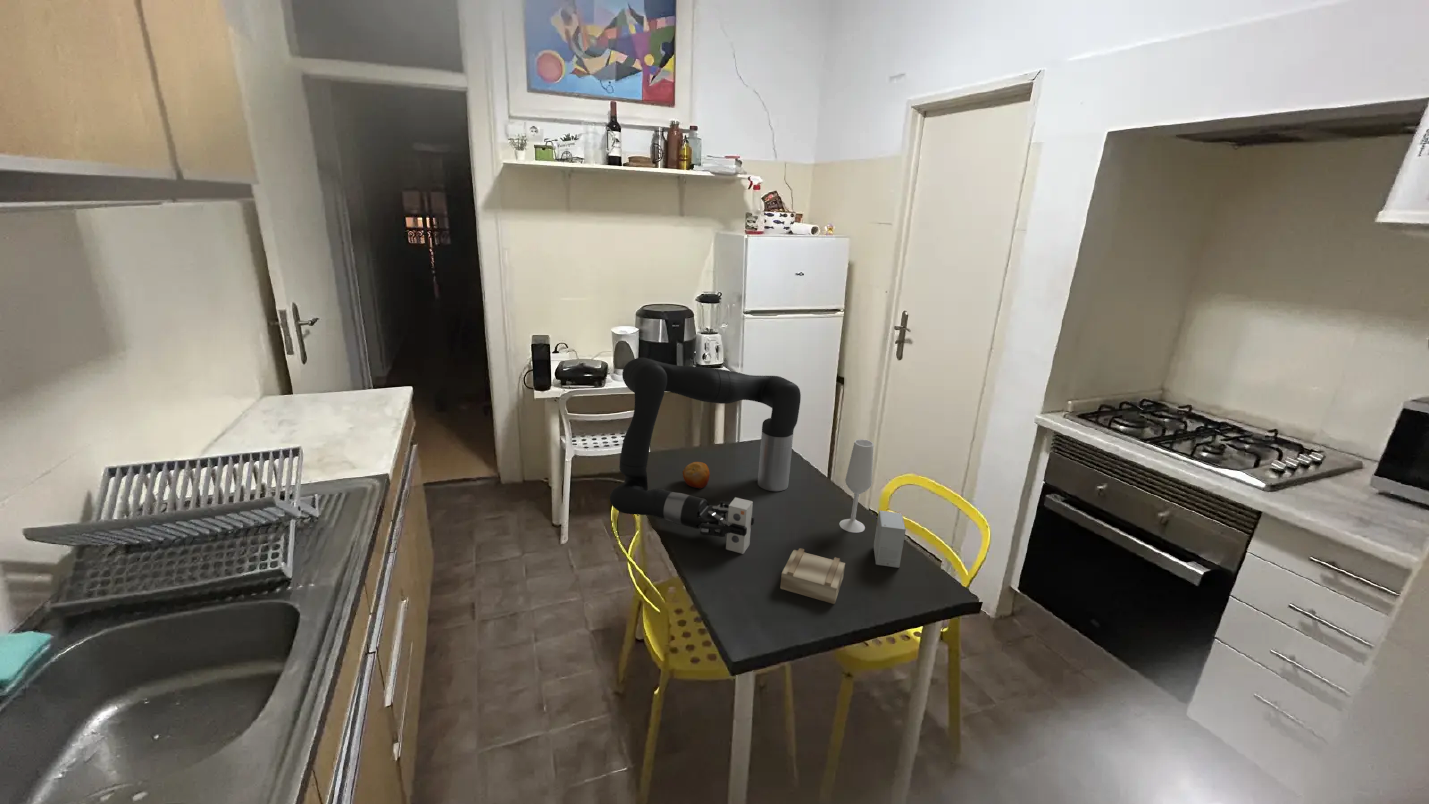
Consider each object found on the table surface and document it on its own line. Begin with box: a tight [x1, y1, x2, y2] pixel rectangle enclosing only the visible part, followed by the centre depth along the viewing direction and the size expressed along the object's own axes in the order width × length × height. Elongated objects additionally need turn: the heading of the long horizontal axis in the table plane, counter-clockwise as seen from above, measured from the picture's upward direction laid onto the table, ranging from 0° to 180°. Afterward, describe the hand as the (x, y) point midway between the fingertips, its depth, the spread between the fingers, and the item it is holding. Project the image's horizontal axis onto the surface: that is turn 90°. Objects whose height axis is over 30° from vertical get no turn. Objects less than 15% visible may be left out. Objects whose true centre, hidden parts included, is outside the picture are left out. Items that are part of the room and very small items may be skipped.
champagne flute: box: [839, 438, 875, 534], centre depth 147 cm, size 7×7×24 cm
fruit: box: [682, 461, 711, 489], centre depth 169 cm, size 8×8×8 cm
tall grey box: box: [725, 496, 754, 555], centre depth 137 cm, size 5×4×12 cm
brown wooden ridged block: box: [780, 547, 846, 605], centre depth 126 cm, size 10×12×5 cm
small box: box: [873, 510, 906, 568], centre depth 137 cm, size 8×6×10 cm
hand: (749, 526), depth 136 cm, fingers closed on tall grey box, 4 cm apart
